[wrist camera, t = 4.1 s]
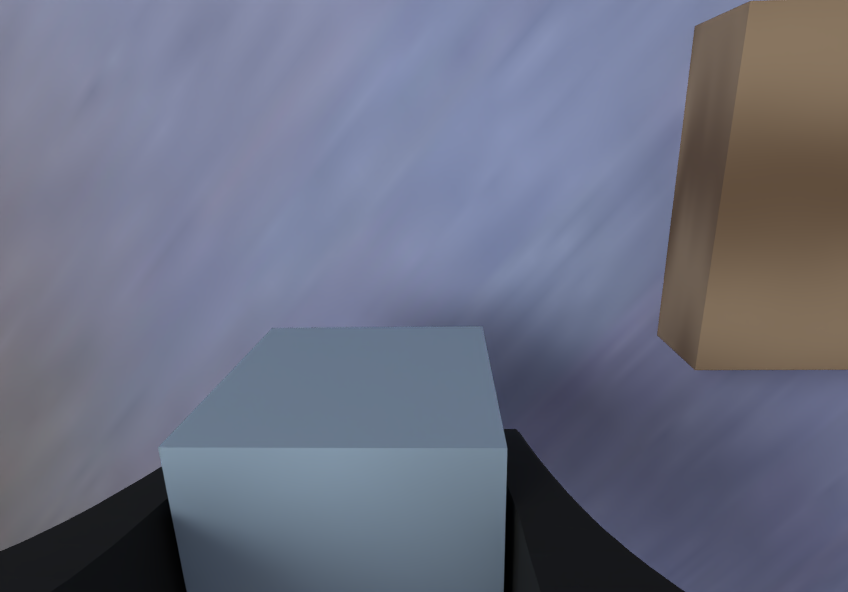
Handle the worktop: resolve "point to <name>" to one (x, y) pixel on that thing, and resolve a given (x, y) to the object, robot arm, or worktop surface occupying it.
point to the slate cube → (344, 466)
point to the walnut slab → (762, 193)
